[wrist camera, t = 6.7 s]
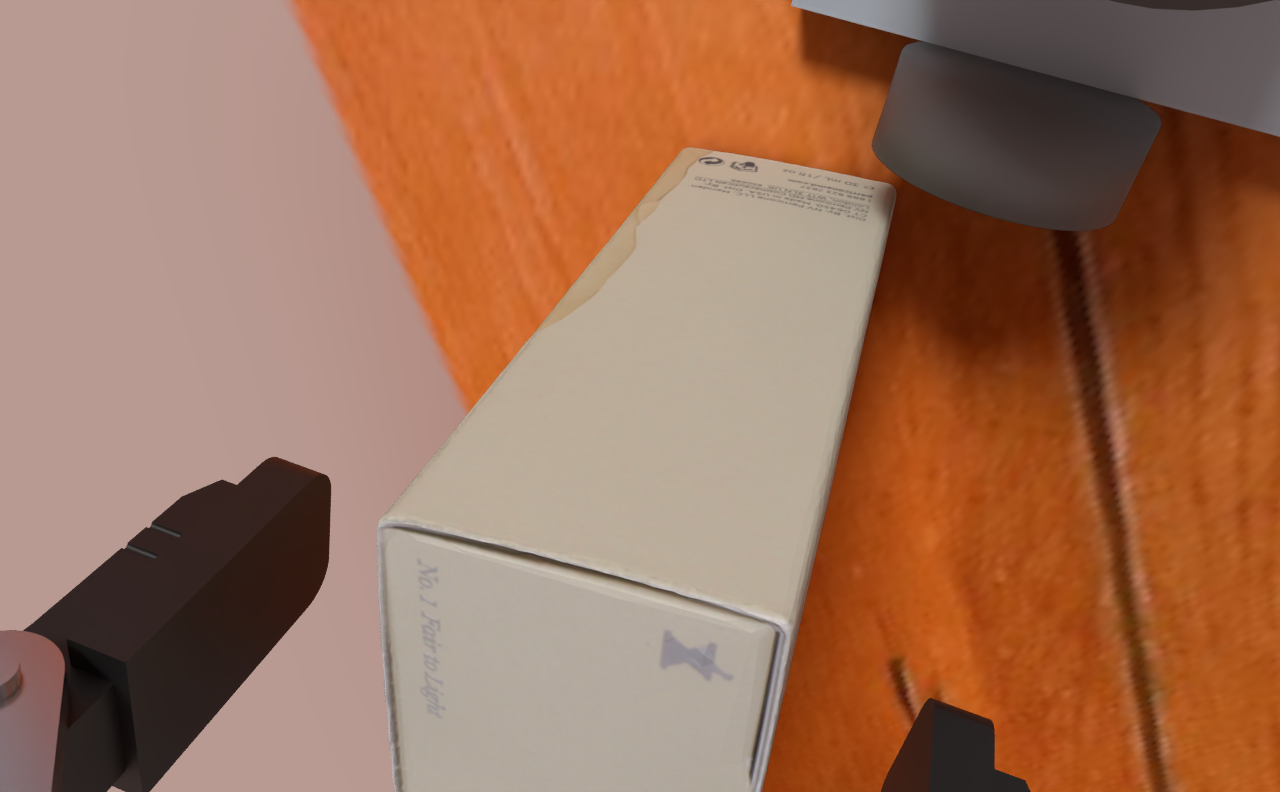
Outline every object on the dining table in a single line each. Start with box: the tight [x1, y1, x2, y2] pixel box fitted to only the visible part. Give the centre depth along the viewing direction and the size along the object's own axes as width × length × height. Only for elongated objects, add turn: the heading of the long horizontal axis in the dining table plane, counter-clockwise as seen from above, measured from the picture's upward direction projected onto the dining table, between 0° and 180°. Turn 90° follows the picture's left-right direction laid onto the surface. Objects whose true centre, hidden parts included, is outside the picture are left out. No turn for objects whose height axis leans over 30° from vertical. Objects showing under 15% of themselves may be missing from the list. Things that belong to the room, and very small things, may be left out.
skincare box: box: [377, 147, 897, 792], centre depth 16 cm, size 6×4×12 cm
